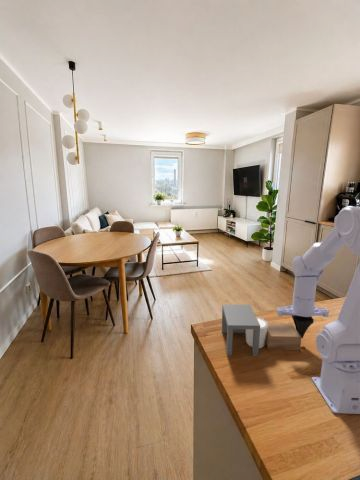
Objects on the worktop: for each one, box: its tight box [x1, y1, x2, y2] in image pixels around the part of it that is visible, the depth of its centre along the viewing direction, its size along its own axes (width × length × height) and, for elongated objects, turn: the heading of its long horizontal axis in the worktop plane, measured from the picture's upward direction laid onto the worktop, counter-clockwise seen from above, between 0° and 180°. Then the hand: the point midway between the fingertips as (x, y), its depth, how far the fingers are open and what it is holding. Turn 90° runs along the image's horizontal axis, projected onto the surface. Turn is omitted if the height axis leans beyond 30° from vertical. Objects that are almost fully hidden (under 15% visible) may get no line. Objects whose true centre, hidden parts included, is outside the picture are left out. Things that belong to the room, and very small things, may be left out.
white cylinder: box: [245, 316, 269, 349], centre depth 73 cm, size 7×7×7 cm
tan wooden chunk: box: [264, 322, 302, 351], centre depth 73 cm, size 7×10×4 cm
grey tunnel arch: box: [221, 304, 260, 357], centre depth 73 cm, size 12×9×10 cm
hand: (299, 336), depth 72 cm, fingers closed
